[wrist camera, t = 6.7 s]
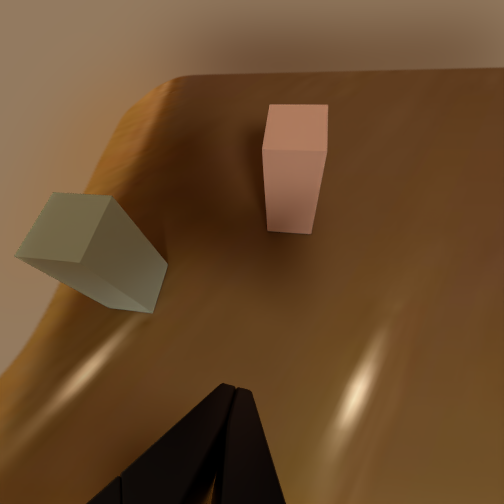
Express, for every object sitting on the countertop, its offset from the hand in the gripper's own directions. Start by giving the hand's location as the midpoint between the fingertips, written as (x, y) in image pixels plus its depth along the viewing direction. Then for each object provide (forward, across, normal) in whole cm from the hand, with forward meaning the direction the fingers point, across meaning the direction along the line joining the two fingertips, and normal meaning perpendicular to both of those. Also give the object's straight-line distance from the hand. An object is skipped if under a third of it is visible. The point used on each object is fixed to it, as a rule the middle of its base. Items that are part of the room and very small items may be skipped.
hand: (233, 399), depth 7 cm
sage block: (+15, +11, +4) cm, 19 cm away
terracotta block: (+20, -1, -4) cm, 21 cm away
